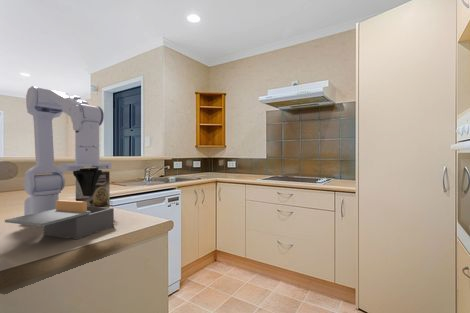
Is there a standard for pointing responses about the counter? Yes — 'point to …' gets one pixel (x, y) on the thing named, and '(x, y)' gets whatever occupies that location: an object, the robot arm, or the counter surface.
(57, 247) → the counter surface
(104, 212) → the grey box
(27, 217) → the box lid
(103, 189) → the coffee box
